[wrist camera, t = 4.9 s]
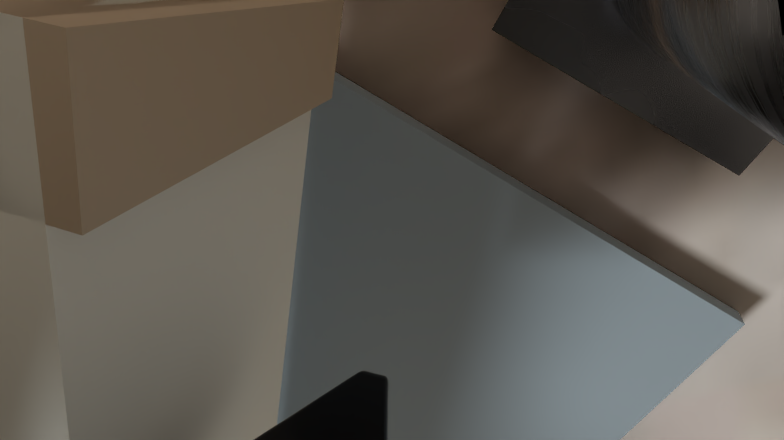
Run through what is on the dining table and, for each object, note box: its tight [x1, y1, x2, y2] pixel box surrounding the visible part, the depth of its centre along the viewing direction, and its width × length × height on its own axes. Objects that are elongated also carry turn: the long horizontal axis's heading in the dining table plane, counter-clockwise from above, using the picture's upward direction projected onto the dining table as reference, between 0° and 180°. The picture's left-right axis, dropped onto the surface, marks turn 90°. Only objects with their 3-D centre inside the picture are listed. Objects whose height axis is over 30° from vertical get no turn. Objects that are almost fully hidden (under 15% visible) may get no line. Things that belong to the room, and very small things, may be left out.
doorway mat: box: [277, 72, 745, 440], centre depth 12 cm, size 10×10×1 cm
